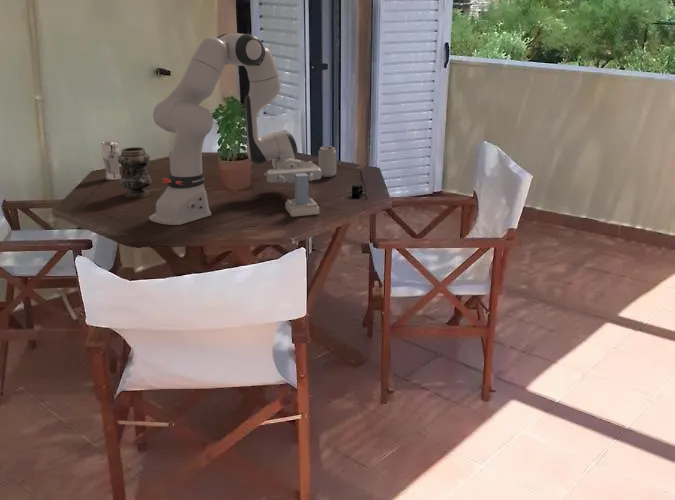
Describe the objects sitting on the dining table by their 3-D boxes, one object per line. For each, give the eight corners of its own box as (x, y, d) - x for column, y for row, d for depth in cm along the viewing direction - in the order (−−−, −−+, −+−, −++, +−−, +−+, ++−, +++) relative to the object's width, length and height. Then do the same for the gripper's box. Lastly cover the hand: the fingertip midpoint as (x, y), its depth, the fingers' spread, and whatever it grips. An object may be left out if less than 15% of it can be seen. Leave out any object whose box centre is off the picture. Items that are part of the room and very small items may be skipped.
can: (339, 175, 313) (339, 147, 309) (325, 178, 309) (324, 150, 305) (329, 172, 319) (329, 144, 315) (315, 174, 315) (315, 146, 311)
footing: (319, 214, 263) (319, 204, 262) (291, 216, 260) (291, 207, 259) (312, 206, 272) (312, 197, 271) (285, 208, 269) (285, 199, 268)
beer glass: (121, 175, 314) (118, 140, 308) (122, 179, 307) (119, 144, 302) (104, 177, 312) (100, 141, 306) (105, 181, 305) (101, 145, 300)
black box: (359, 201, 279) (359, 190, 278) (341, 199, 282) (341, 187, 280) (371, 193, 290) (371, 182, 288) (354, 191, 293) (354, 180, 291)
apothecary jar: (152, 189, 293) (147, 144, 287) (154, 197, 283) (150, 151, 276) (120, 192, 290) (115, 146, 284) (121, 200, 279) (116, 153, 273)
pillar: (308, 205, 264) (308, 175, 260) (297, 206, 263) (297, 176, 259) (305, 202, 268) (305, 172, 264) (295, 203, 267) (294, 173, 263)
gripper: (262, 164, 276) (269, 173, 264) (315, 160, 281) (325, 169, 269) (263, 180, 278) (270, 190, 266) (315, 176, 284) (325, 186, 271)
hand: (298, 179), depth 267 cm, fingers open, 8 cm apart
